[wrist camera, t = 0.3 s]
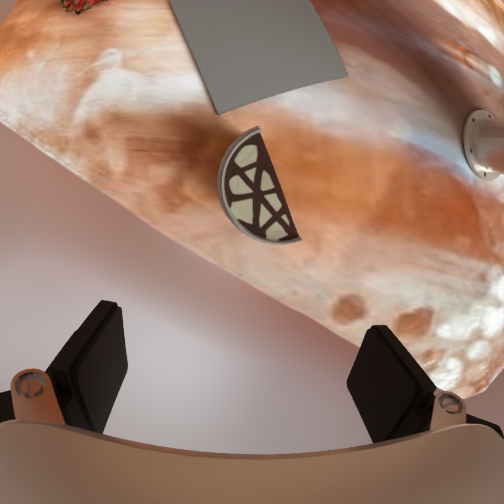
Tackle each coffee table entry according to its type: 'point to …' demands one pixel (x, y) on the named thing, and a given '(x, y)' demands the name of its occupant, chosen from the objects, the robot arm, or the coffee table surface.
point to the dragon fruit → (78, 5)
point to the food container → (254, 192)
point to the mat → (257, 47)
